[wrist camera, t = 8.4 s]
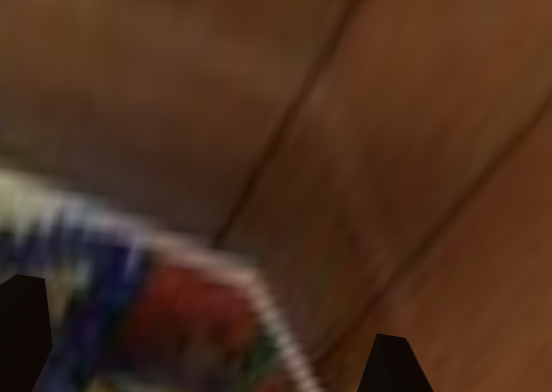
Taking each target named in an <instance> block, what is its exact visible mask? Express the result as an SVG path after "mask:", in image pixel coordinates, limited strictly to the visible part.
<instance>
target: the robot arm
mask: <svg viewBox="0 0 552 392" xmlns="http://www.w3.org/2000/svg"><path fill="white" fill-rule="evenodd" d="M52 346H53V344H52V336H51V327H50V319H49V311H48V302H47V294H46V286H45V279H44V278H38V277H31V276H25V275H19V274H16V275H15V276H13V277H11V278H10V279H8V280H7V281H5V282H4V283H2V284H1V285H0V392H32V390H33V388H34V386H35V384H36V382H37V379H38V377H39V375H40V373H41V371H42V369H43V367H44V364H45V362H46V360H47V357H48V355H49V353H50V351H51V348H52ZM357 392H433V390H432V388H431V386H430V384H429V382H428V380H427V378H426V376H425V375H424V373H423V371H422V369H421V367H420V365H419V363H418V361H417V359H416V357H415V355H414V353H413V351H412V349H411V347H410V345H409V343H408V341H407V340H406V338H403V337H397V336H391V335H384V334H378V333H377V334H376V337H375V340H374V343H373V346H372V349H371V352H370V355H369V358H368V361H367V364H366V367H365V370H364V373H363V376H362V379H361V382H360V385H359V388H358V390H357Z"/></svg>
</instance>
